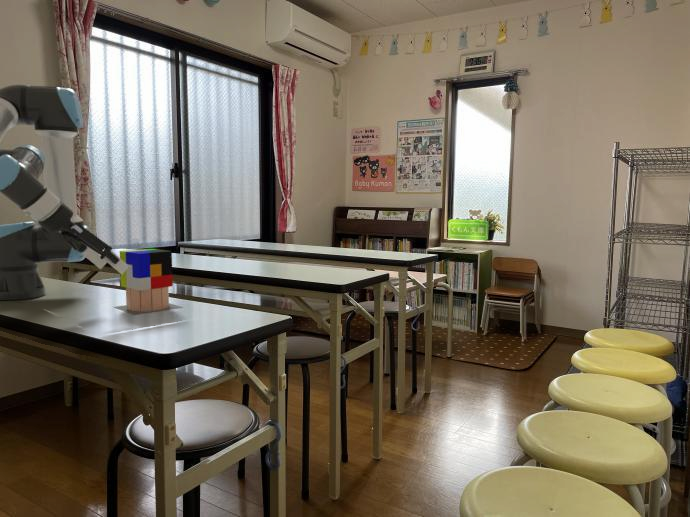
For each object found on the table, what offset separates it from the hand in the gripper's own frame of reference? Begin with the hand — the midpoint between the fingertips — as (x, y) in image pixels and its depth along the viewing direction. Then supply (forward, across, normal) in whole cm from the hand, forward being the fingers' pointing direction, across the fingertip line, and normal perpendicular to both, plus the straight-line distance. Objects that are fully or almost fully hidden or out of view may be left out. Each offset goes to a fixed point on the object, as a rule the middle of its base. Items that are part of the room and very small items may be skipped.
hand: (114, 267), depth 135 cm
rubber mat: (+15, 0, -2) cm, 15 cm away
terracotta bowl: (+15, 0, -2) cm, 15 cm away
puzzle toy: (+11, 0, +2) cm, 11 cm away
